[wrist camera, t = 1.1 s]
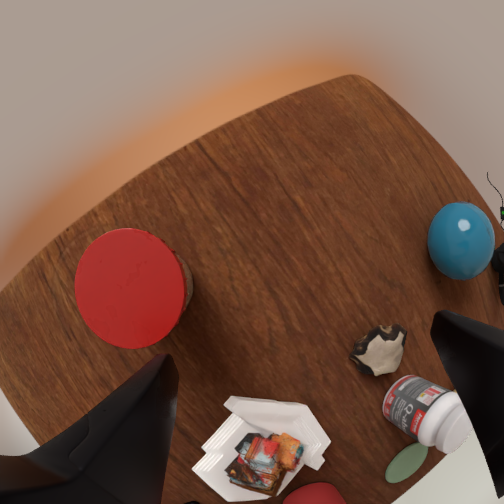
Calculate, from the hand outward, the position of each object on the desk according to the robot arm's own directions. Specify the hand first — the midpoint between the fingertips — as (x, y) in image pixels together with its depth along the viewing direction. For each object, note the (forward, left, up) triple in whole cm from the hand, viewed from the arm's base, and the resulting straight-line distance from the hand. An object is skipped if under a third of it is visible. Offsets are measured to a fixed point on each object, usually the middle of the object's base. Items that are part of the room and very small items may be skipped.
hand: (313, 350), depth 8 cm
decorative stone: (+9, -10, -14) cm, 20 cm away
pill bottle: (+7, -18, -14) cm, 25 cm away
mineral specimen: (-7, -11, -14) cm, 20 cm away
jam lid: (-6, +6, -6) cm, 10 cm away
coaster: (+4, -30, -14) cm, 34 cm away
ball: (+20, -7, -14) cm, 26 cm away
